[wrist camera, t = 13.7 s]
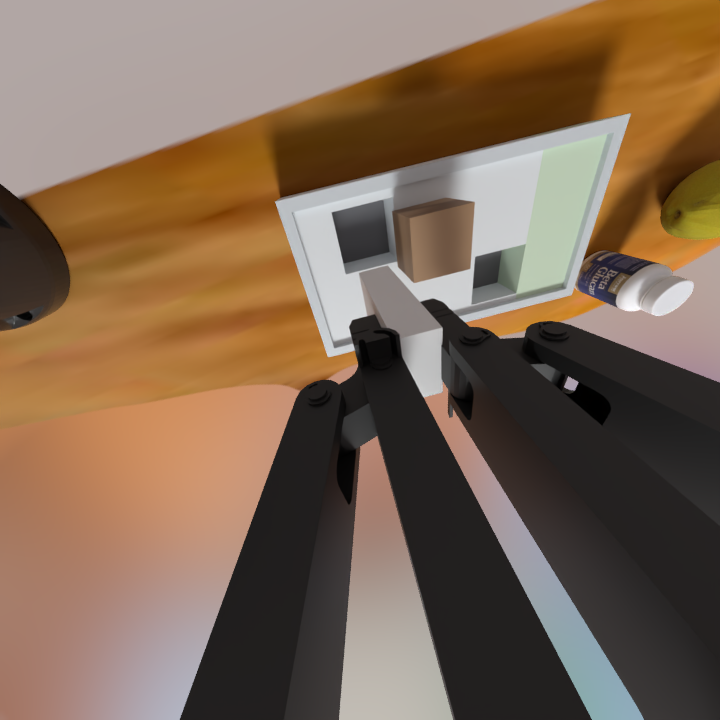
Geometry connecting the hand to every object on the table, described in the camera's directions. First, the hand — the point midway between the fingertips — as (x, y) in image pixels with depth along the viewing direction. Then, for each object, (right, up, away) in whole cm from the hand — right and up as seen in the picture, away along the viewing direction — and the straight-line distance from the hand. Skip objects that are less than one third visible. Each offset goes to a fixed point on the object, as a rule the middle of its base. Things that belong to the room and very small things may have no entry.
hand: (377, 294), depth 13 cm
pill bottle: (+30, +9, +21) cm, 38 cm away
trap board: (+8, +9, +16) cm, 20 cm away
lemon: (+37, +16, +17) cm, 44 cm away
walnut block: (+5, +9, +11) cm, 15 cm away
